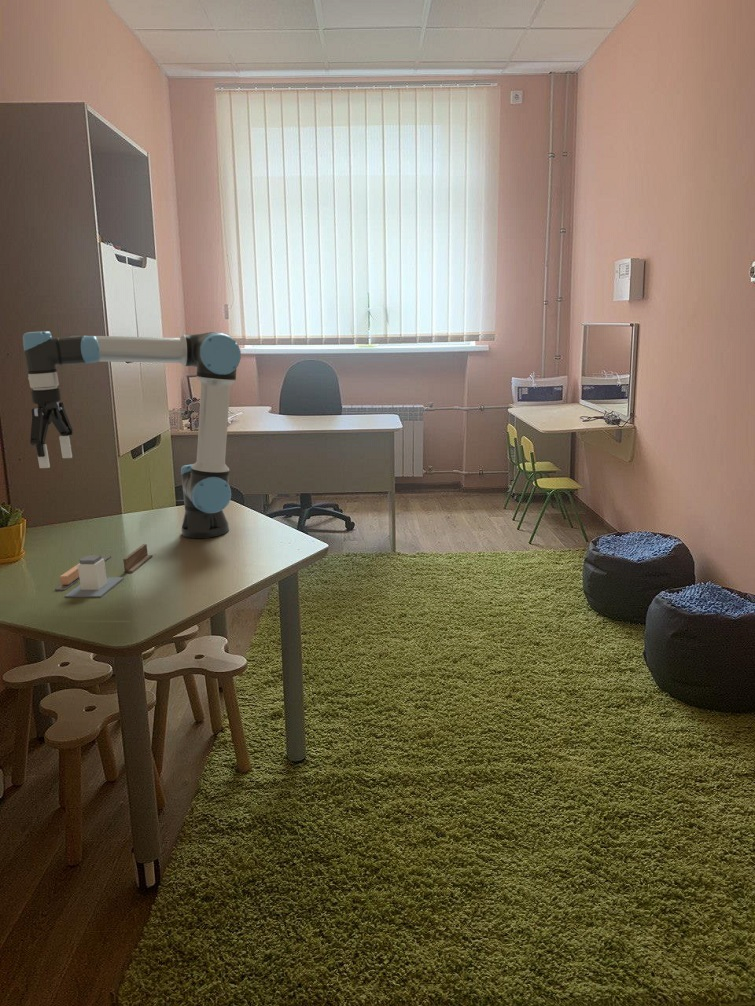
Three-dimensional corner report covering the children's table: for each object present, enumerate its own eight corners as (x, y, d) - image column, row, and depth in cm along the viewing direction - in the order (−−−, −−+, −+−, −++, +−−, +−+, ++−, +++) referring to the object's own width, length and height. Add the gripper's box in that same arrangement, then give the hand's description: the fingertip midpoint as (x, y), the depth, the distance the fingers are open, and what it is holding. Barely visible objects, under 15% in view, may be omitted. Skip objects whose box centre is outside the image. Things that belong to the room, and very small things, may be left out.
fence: (152, 556, 238) (150, 544, 237) (132, 572, 225) (131, 559, 224) (144, 556, 239) (143, 544, 238) (124, 572, 225) (123, 559, 224)
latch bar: (89, 569, 227) (87, 557, 226) (68, 584, 216) (66, 571, 215) (82, 569, 228) (80, 557, 227) (61, 584, 216) (59, 571, 215)
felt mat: (123, 578, 220) (123, 577, 220) (100, 597, 207) (100, 595, 207) (89, 578, 221) (89, 577, 221) (64, 597, 208) (64, 595, 208)
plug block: (107, 583, 216) (103, 555, 214) (98, 589, 211) (94, 561, 209) (90, 583, 217) (86, 555, 215) (81, 589, 212) (77, 561, 210)
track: (111, 556, 240) (111, 555, 240) (64, 590, 213) (64, 588, 213) (102, 557, 240) (102, 555, 240) (55, 590, 214) (54, 588, 213)
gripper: (53, 383, 235) (64, 454, 240) (8, 394, 211) (21, 472, 216) (77, 382, 234) (88, 453, 239) (35, 393, 210) (47, 471, 215)
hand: (56, 462), depth 228 cm, fingers open, 13 cm apart
